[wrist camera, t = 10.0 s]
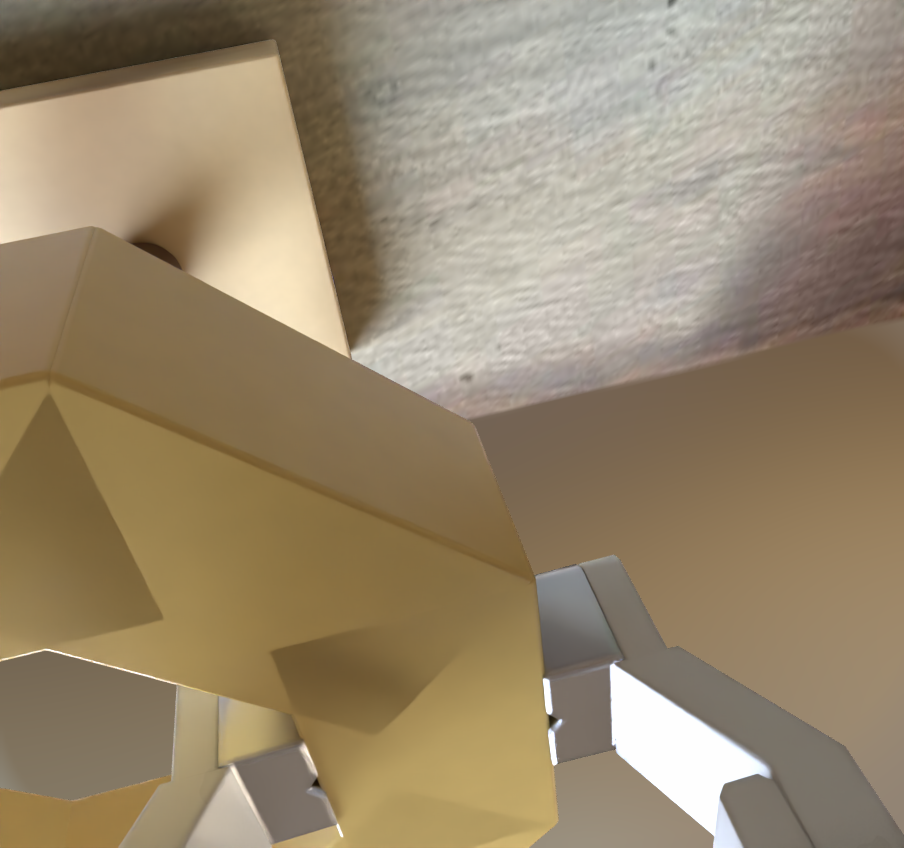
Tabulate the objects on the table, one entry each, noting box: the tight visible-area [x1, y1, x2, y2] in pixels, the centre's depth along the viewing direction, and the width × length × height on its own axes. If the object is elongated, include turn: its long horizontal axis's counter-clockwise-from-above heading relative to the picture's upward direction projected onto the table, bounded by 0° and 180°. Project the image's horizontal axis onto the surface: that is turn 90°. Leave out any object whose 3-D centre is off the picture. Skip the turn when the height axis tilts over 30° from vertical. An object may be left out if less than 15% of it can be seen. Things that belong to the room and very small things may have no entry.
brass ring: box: [0, 226, 559, 848], centre depth 11 cm, size 12×12×3 cm
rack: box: [0, 40, 352, 359], centre depth 18 cm, size 9×9×11 cm
